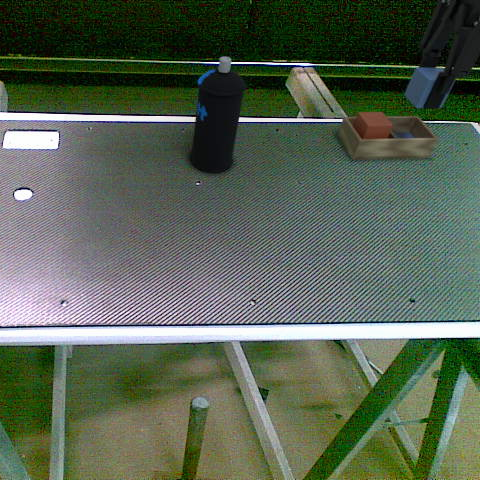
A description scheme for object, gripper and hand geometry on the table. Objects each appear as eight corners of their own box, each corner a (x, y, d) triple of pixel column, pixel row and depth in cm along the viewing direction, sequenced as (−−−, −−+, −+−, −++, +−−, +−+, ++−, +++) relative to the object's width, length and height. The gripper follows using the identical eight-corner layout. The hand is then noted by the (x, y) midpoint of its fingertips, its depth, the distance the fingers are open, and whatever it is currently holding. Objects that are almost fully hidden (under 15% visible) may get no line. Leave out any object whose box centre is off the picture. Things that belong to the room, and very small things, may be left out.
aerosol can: (235, 152, 93) (254, 52, 79) (228, 177, 88) (247, 73, 73) (195, 145, 95) (205, 45, 80) (185, 168, 89) (195, 65, 75)
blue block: (428, 94, 91) (441, 67, 88) (441, 108, 88) (455, 80, 84) (403, 95, 91) (415, 67, 87) (416, 108, 87) (429, 80, 84)
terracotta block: (372, 135, 98) (382, 111, 94) (382, 149, 94) (393, 125, 90) (349, 136, 97) (358, 112, 93) (358, 150, 94) (368, 125, 90)
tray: (409, 134, 101) (418, 115, 97) (429, 158, 95) (439, 139, 91) (337, 135, 99) (343, 116, 96) (352, 159, 93) (360, 140, 90)
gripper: (437, -56, 79) (384, 77, 95) (502, -21, 66) (428, 125, 83) (479, -55, 79) (419, 77, 96) (551, -20, 67) (468, 125, 83)
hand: (423, 99), depth 89 cm, fingers closed on blue block, 5 cm apart
